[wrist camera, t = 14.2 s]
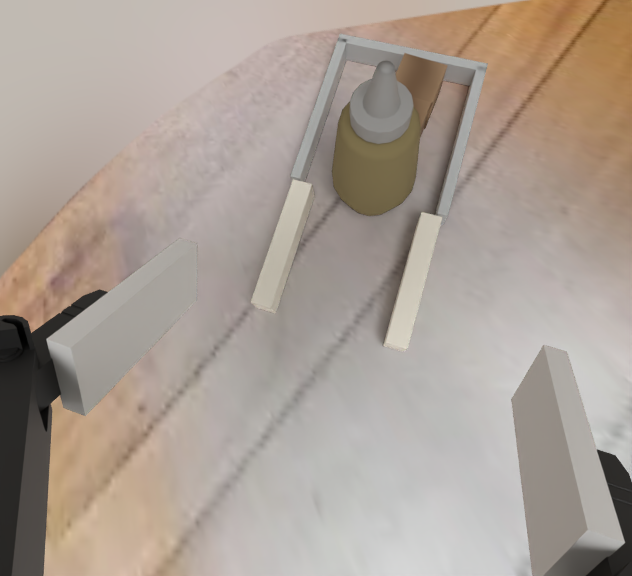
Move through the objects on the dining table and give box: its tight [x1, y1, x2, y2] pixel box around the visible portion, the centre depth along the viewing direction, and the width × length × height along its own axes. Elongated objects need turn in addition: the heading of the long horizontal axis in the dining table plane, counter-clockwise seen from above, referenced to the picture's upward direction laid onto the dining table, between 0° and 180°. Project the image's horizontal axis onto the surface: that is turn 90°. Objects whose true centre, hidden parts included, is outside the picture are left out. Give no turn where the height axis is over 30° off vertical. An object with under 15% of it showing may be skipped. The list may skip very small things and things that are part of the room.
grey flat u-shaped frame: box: [291, 34, 488, 225], centre depth 46 cm, size 16×18×2 cm
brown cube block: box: [396, 53, 448, 129], centre depth 46 cm, size 4×4×4 cm
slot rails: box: [251, 179, 442, 352], centre depth 42 cm, size 15×13×3 cm
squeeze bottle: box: [332, 61, 421, 216], centre depth 37 cm, size 8×8×18 cm
